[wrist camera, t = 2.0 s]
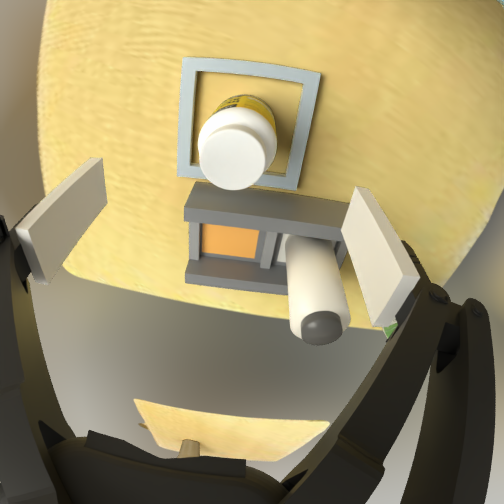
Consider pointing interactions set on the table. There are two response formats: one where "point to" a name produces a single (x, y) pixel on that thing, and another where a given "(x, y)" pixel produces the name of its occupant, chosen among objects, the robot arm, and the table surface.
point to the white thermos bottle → (315, 290)
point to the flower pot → (189, 449)
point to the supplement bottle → (238, 142)
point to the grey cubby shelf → (253, 235)
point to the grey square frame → (256, 69)
